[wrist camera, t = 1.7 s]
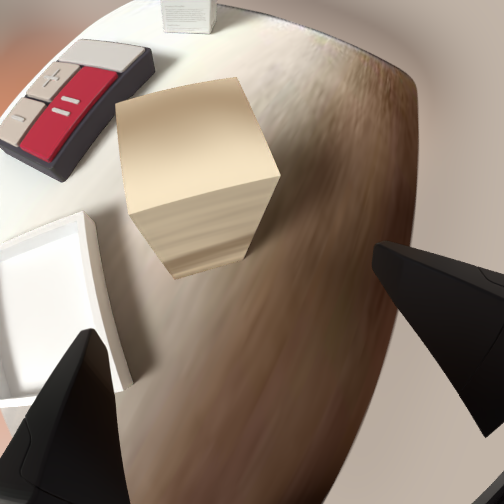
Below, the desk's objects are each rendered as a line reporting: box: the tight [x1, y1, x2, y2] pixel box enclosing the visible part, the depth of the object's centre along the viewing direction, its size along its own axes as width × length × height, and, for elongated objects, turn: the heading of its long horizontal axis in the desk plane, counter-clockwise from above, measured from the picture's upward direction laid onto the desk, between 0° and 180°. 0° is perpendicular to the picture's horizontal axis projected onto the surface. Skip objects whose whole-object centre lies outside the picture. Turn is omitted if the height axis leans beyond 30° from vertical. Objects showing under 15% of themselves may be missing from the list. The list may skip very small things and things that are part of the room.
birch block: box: [115, 77, 281, 280], centre depth 15 cm, size 5×5×12 cm
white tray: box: [0, 211, 134, 407], centre depth 16 cm, size 12×12×2 cm
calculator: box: [0, 39, 155, 182], centre depth 21 cm, size 11×4×15 cm
